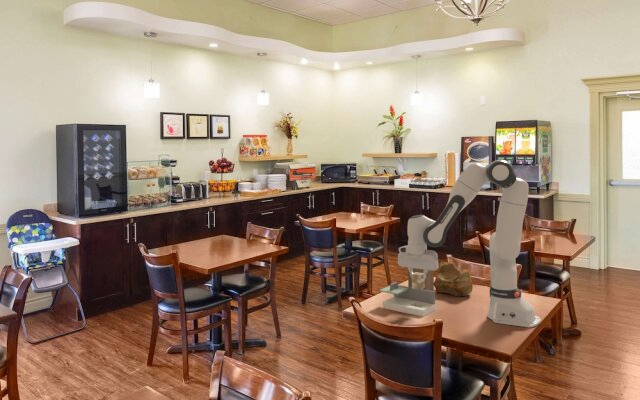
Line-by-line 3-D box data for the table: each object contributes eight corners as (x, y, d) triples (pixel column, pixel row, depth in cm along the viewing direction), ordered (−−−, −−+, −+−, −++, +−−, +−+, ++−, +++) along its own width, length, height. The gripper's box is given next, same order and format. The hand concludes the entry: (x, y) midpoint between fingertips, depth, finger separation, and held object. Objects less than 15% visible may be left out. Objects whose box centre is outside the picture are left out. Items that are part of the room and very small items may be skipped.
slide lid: (408, 289, 244) (408, 282, 244) (397, 294, 236) (397, 287, 236) (390, 286, 251) (390, 279, 250) (379, 291, 243) (379, 283, 243)
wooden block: (425, 302, 249) (425, 264, 246) (408, 299, 255) (407, 261, 253) (434, 297, 256) (434, 260, 254) (416, 294, 262) (416, 257, 260)
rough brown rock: (424, 290, 273) (422, 264, 271) (449, 284, 279) (447, 258, 276) (449, 303, 251) (447, 275, 249) (476, 296, 257) (474, 268, 255)
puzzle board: (435, 309, 237) (435, 291, 236) (423, 316, 228) (423, 297, 227) (395, 301, 252) (395, 284, 251) (383, 307, 242) (382, 290, 241)
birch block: (425, 287, 236) (424, 273, 235) (420, 289, 232) (420, 275, 232) (416, 286, 239) (416, 272, 238) (412, 288, 235) (411, 274, 234)
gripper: (440, 249, 229) (441, 278, 231) (402, 245, 242) (403, 273, 244) (434, 252, 224) (435, 281, 226) (395, 248, 238) (396, 276, 239)
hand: (418, 277), depth 235 cm, fingers closed on birch block, 4 cm apart
